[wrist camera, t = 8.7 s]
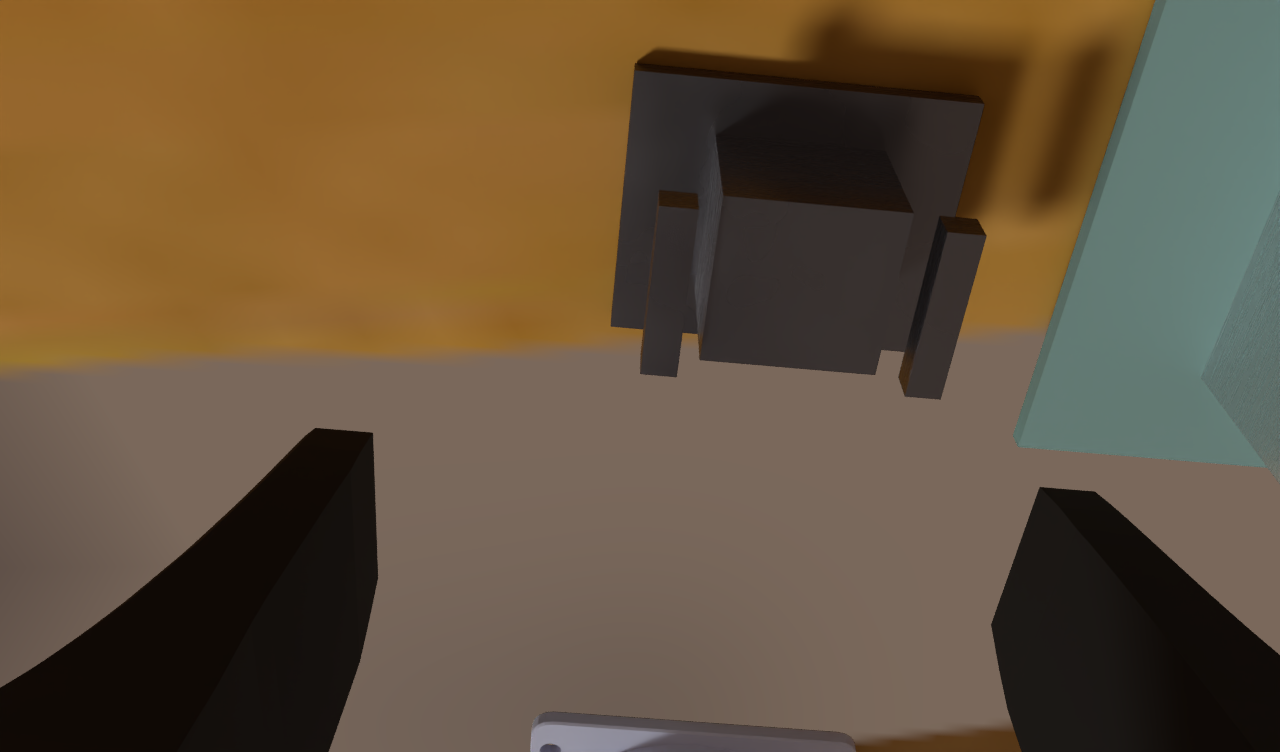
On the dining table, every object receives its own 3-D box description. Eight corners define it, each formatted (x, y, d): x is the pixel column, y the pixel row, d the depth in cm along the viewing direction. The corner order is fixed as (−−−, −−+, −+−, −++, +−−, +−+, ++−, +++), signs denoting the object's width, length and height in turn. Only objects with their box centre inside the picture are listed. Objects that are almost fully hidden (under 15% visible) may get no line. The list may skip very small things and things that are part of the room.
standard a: (914, 342, 23) (956, 450, 20) (611, 316, 23) (604, 421, 20) (979, 96, 20) (1037, 177, 17) (635, 63, 20) (631, 139, 17)
